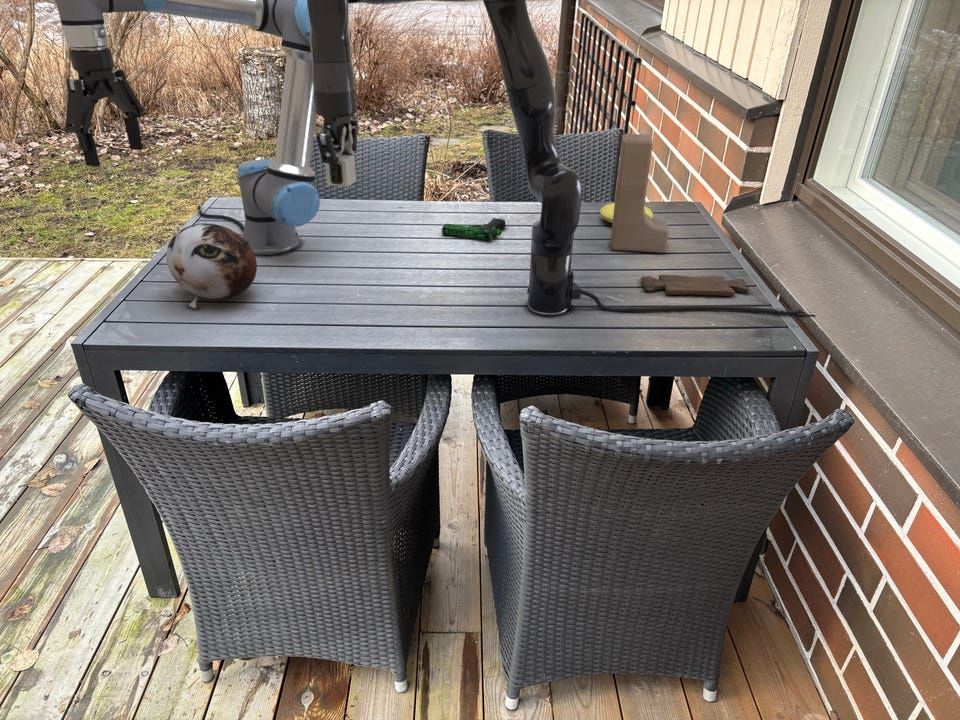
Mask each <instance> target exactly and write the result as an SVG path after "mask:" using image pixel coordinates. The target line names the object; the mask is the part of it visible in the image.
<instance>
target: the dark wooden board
mask: <svg viewBox="0 0 960 720" xmlns="http://www.w3.org/2000/svg"><path fill="white" fill-rule="evenodd" d="M640 280H641V286H642V288H643V289H644V291H645V292H657V291H661V290H664V291H665V294H666V295H668V296H669V295H672V296H678V295H703V296H705V295H707V296H724V297H725V296H726V297H727V296H728V297H729V296H730V297H731V296H734V295H735V294H736V292H739V293H747V292H748V286H747V284H746V281H745V279H744V278H736V279H732V280H731V279H730V280H725V276H724V275H677V274H676V275H675V274H659V275H658V278H656V277H653V276H650V275H649V276H646V275H645V276H641V278H640Z"/></svg>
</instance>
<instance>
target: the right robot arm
mask: <svg viewBox="0 0 960 720" xmlns="http://www.w3.org/2000/svg"><path fill="white" fill-rule="evenodd" d="M425 1H426V0H307V6H308V13H309V20H310V47H311V57H312V81H313V91H314V101H315V111H316V113H317V116H320V117H321V118H323V124H322V125H323V126H322V128H323V129H322V130H323V131H322V132H317V133H316V135H315V136H316V142H317V145H318V150H319V153H320V157H321V161H322V163H323V164H325V163H328V164H329V167H330V178H331V183H333V184H341V183H342V182H343V177H342V165H341V157H342V155H351V156H354V152H357V149H358V129H359V121H358V119H354V118H351V116H354V115H355V114H356V113H357V111H358V107H357V95H356V94H357V93H356V84H355V83H356V79H355V70H354V65H353V60H352V59H353V58H352V45H351V37H350V30H349V5H350V4H351V5H352V4H361V3H364V4H369V5H389V4H404V3H415V2H425ZM482 2H483V5H484V7H485V10H486V13H487V16H488V19H489V22H490V24H491V28H492V31H493V35H494V40H495V45H496V50H497V56H498V61H499V66H500V71H501V73H502V79H503V83H504V87H505V91H506V95H507V99H508V104H509V107H510V109H511V113H512V115H513V120H514V123H515V127H516V131H517V134H518V137H519V140H520V144H521V148H522V153H523V157H524V158H523V159H524V164H525V172H526V178H527V179H526V180H527V184H528V188H529V191H530V193H531V195H532V197H533V198H534V199H535V200H536V201H537V202H539V204H541V211H540V219H539V220H537V221H535V222H533V224H532V227H531V239H530V241H531V243H530V260H529V275H528V276H529V278H528V288H527V289H526V290H527V292H526V294H527V295H528V296H527V309H528V310H529V311H530V312H531V313H533V314H536V315H539V316H543V317H544V316H545V317H556V316H560V315H563V314H565V313H567V312H571V311H572V301H573V300H574V301H575V300H580V299H581V297H582V295H583V296H586V297H589V298H591V299H592V300H594V302H595V303H596V305H597V306H598V307H599V309H601V310H604V311H607V312H614V313H625V312H627V313H628V312H633V313H634V312H638V313H639V312H643V313H644V312H663V311H665V312H666V311H669V312H670V311H697V310H698V311H701V310H703V311H705V310H707V311H709V310H710V311H715V310H717V311H743V312H754V313H755V312H757V313H768V314H777V315H791V316H792V315H800V314H806V313H805V312H802V310H801V309H802V308H799V309H784V310H785V311H786V312H785V311H778V308H768V307H756V306H755V307H753V306H740V305H708V304H707V305H701V304H700V305H670V306H669V305H668V306H647V307H645V306H643V307H641V306H639V307H638V306H637V307H636V306H635V307H633V306H630V307H627V306H625V307H612V306H608V305H606V304H603V303H602V302H601V300H600V299H599V297H598V296H597V295H595V294H593V293H592V292H590V291H587V290H584V289H582V288H581V287H580V286H579V285H578V284H577V283H576V282H575V281H574V278H575V275H574V274H575V273H574V271H573V270H572V259H573V247H574V237H575V232H576V230H577V228H578V226H579V222H580V214H581V207H582V199H583V182H582V179H581V177H580V175H579V174H578V173H577V172H576V171H575V170H573V169H572V168H569V167H568V166H566V165H565V164H564V163H563V162H562V160H561V157H560V154H559V150H558V147H557V144H556V138H555V120H556V115H557V114H556V113H557V95H556V94H557V93H556V90H555V84H554V80H553V75H552V71H551V68H550V64H549V62H548V59H547V56H546V54H545V51H544V49H543V46H542V45H541V42H540V40H539V38H538V36H537V34H536V31H535V29H534V26H533V24H532V22H531V18H530V16H529V11H528V7H527V0H482ZM336 154H337V157H336Z"/></svg>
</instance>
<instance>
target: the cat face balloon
mask: <svg viewBox="0 0 960 720" xmlns="http://www.w3.org/2000/svg"><path fill="white" fill-rule="evenodd" d="M248 242H249V241H246V240H245V239H244V238H243V236H242V235H240V234H239V233H238V232H236V231H234V230H233V229H231V228H229V227H226V226H223V225H220V224H215V223H205V222H204V223H195V224H191V225H188V226H186V227H183V228H182V229H180V230H179V231H177V232H176V233H175V234H174V235H173V237H171V239H170V241H169V243H168V245H167V248H166V254H165V260H166V265H167V268H168V271H169V273H170V275H171V276H172V277H173V279H174V280H175V281H176V282H177V284H178V285H180V286H181V287H182V288H183V289H185V290H186V291H187V292H189V293H191V294H194V295H195V298H194V299H193V300H192V302H190V303H189V304H188V306H189V307H191V308H192V309H197V308H198V307H197V298H198V297H201V298H205V299H210V300H226V299H230V298H233V297H236V296H238V295H241V294H242V293H244V292H245V291H247V290H248V289H249V288H250V286H251V285H252V284H253V282H254V280H255V278H256V275H257V271H258V262H257V257H256V254H254V252H253V250H252V248H251V247H250V245H249V244H248Z"/></svg>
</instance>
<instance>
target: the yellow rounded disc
mask: <svg viewBox="0 0 960 720" xmlns="http://www.w3.org/2000/svg"><path fill="white" fill-rule="evenodd" d="M614 205H615V202H612V203H608V204H606V205H604V206H602V207H601V208H600V210H599V212H600V216H601V218H602V219H604V220H605V221H607V222H609V223H610V224H612V222H613V213H614ZM644 209H645V213H646V214H647V215H648V216H650V217H651V218H653V217H654V213H653V211H652V210H651V209H650V208H649V207H647V206H644Z"/></svg>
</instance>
